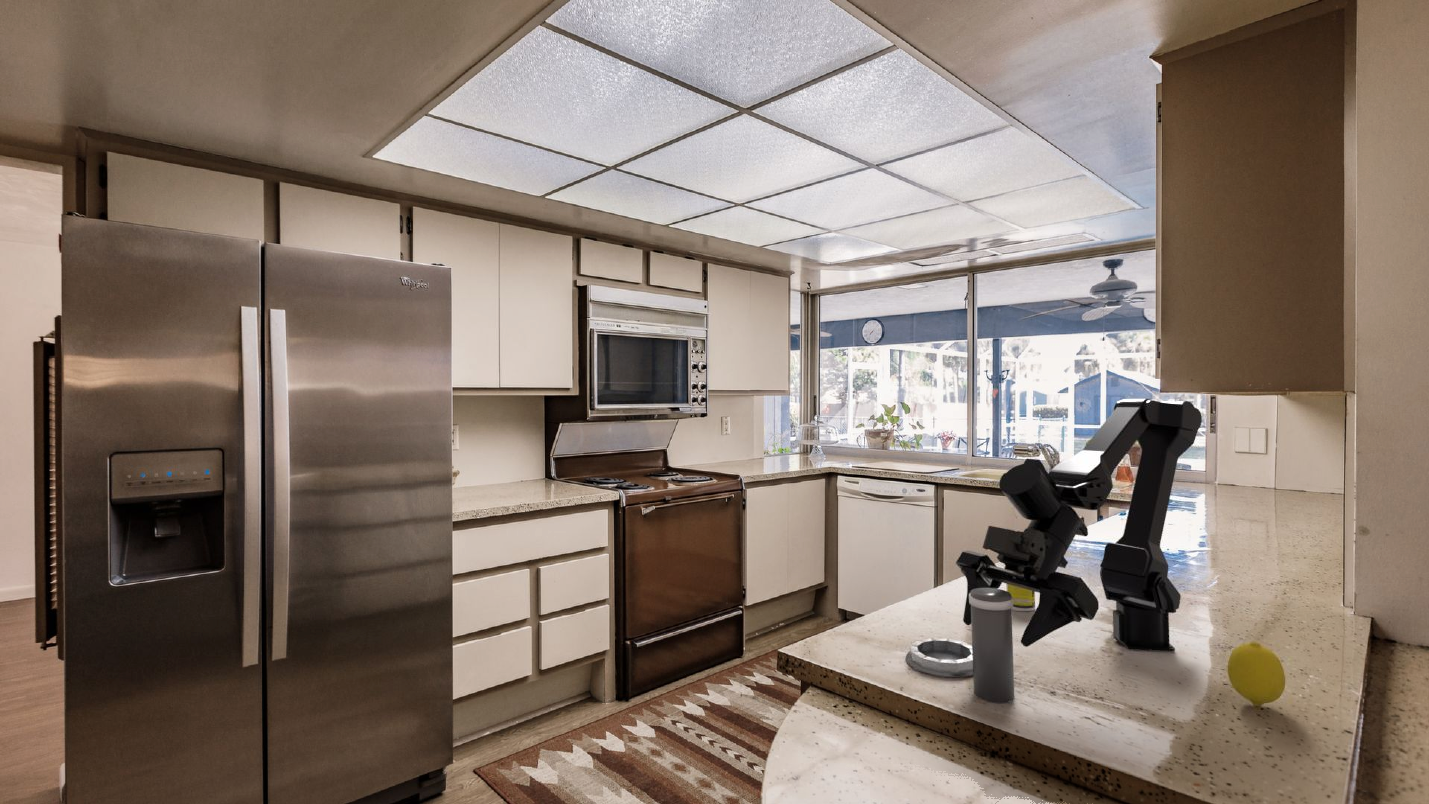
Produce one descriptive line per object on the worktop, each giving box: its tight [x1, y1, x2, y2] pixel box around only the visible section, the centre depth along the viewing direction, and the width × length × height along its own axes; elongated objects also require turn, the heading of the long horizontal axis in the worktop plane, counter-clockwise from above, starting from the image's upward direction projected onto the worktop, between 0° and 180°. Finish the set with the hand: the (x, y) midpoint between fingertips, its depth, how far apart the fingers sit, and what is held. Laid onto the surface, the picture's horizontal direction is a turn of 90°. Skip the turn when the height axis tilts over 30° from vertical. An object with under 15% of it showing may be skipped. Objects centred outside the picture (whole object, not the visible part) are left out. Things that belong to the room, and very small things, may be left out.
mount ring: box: [905, 637, 973, 679], centre depth 98 cm, size 11×11×2 cm
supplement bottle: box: [1005, 583, 1036, 612], centre depth 121 cm, size 5×5×8 cm
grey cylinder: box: [969, 588, 1015, 704], centre depth 87 cm, size 5×5×14 cm
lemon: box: [1227, 641, 1286, 707], centre depth 82 cm, size 6×6×8 cm
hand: (993, 633), depth 87 cm, fingers open, 9 cm apart
